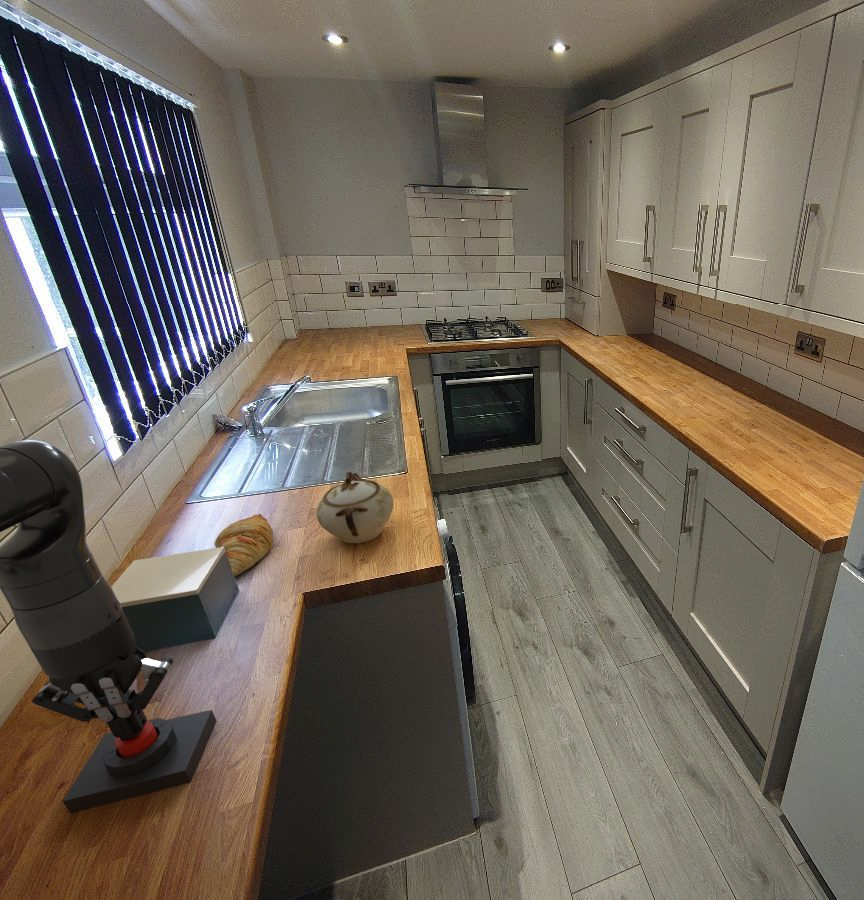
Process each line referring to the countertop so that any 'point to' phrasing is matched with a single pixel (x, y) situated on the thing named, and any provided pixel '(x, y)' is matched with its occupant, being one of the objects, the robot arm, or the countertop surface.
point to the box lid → (166, 577)
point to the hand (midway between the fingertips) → (134, 733)
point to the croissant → (246, 542)
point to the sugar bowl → (355, 509)
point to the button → (137, 742)
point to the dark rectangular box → (185, 613)
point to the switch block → (142, 763)
